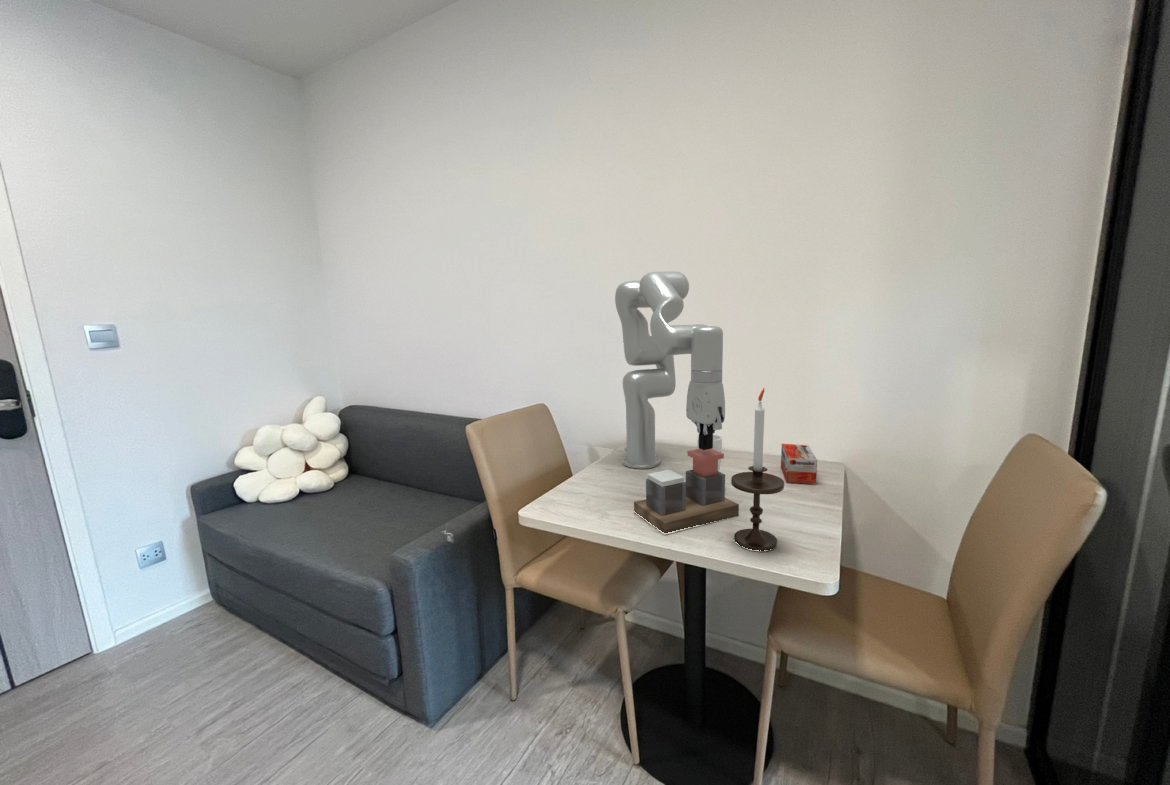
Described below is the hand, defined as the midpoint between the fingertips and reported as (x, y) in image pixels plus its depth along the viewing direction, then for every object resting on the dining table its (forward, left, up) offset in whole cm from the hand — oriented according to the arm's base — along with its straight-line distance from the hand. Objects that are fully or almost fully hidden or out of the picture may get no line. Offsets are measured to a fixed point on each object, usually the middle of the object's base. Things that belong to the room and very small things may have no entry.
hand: (705, 448), depth 123 cm
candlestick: (+19, -1, -17) cm, 25 cm away
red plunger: (0, 0, -9) cm, 9 cm away
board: (0, -6, -17) cm, 18 cm away
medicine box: (-7, +40, -17) cm, 44 cm away
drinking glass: (-12, +11, -17) cm, 23 cm away
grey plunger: (0, -12, -13) cm, 18 cm away
